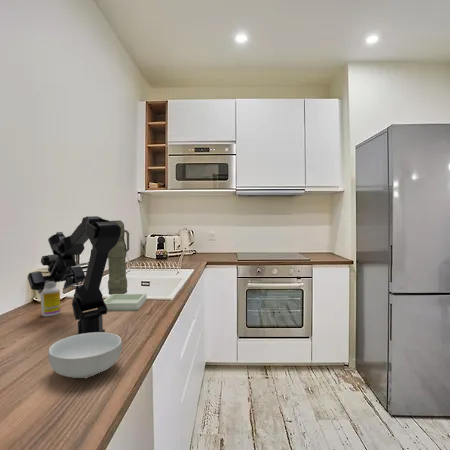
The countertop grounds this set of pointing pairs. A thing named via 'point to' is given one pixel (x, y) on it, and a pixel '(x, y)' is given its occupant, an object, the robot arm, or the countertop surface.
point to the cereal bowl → (85, 354)
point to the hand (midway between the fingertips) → (51, 290)
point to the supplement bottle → (50, 299)
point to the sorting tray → (125, 302)
